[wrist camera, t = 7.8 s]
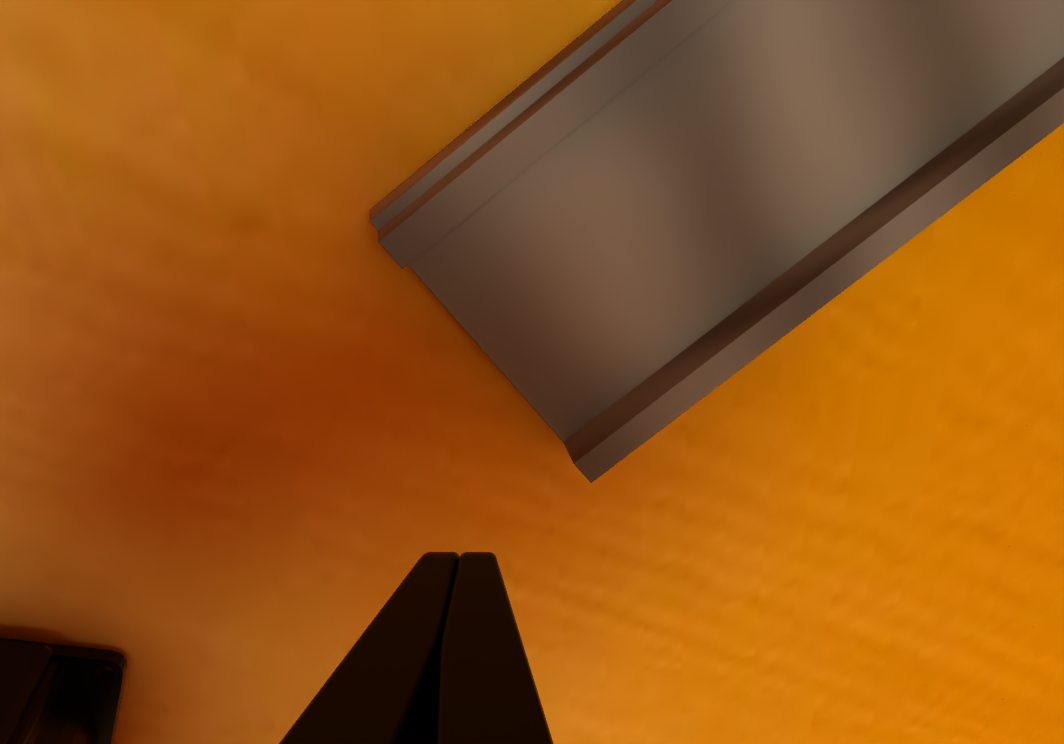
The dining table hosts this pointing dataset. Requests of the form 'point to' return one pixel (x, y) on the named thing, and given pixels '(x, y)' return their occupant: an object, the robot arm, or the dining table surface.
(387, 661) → the robot arm
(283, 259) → the dining table surface
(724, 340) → the rail
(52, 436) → the dining table surface
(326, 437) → the dining table surface
